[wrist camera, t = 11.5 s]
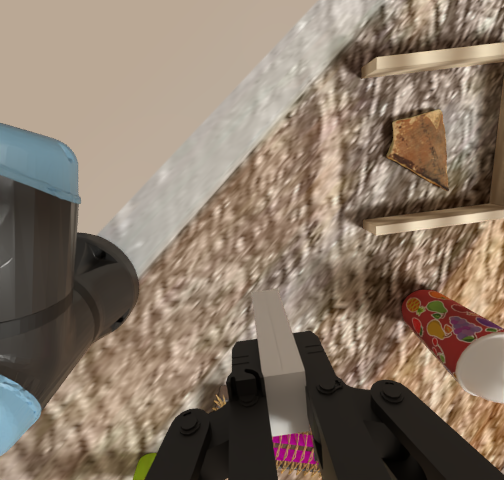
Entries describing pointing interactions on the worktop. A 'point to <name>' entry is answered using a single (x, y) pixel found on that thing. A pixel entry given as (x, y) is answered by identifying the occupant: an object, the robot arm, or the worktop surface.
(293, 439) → the pink bristle brush
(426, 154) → the shard
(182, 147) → the worktop surface
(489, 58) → the box
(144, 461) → the soap dispenser
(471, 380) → the smoothie
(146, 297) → the worktop surface
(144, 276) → the worktop surface
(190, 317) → the worktop surface
